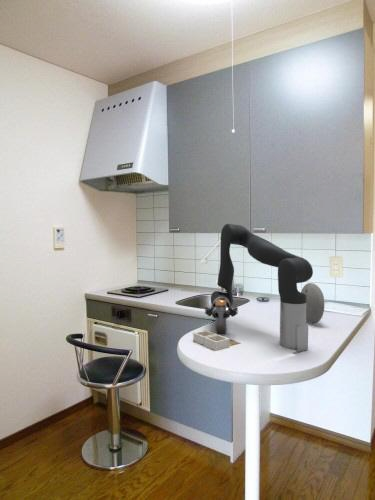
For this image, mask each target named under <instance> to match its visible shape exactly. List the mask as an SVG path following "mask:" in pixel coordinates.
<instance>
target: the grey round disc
mask: <svg viewBox="0 0 375 500" xmlns="http://www.w3.org/2000/svg"><path fill="white" fill-rule="evenodd" d="M300 292H301V293H304V294H305V295H306V322H307V323H310V324H317V323H319V322H320V321H321V320H322V318H323V315H324V312H325V296H324V293H323V291H322V289H321V288H320V287H319V286H318V285H317V284H316V283H313V282H307V283H306V284H305V285H303V287H302V289H301V291H300Z"/></svg>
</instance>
